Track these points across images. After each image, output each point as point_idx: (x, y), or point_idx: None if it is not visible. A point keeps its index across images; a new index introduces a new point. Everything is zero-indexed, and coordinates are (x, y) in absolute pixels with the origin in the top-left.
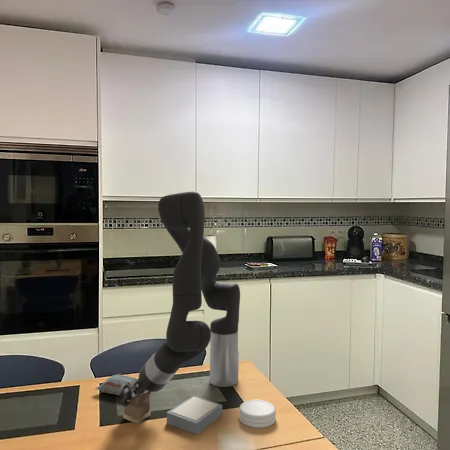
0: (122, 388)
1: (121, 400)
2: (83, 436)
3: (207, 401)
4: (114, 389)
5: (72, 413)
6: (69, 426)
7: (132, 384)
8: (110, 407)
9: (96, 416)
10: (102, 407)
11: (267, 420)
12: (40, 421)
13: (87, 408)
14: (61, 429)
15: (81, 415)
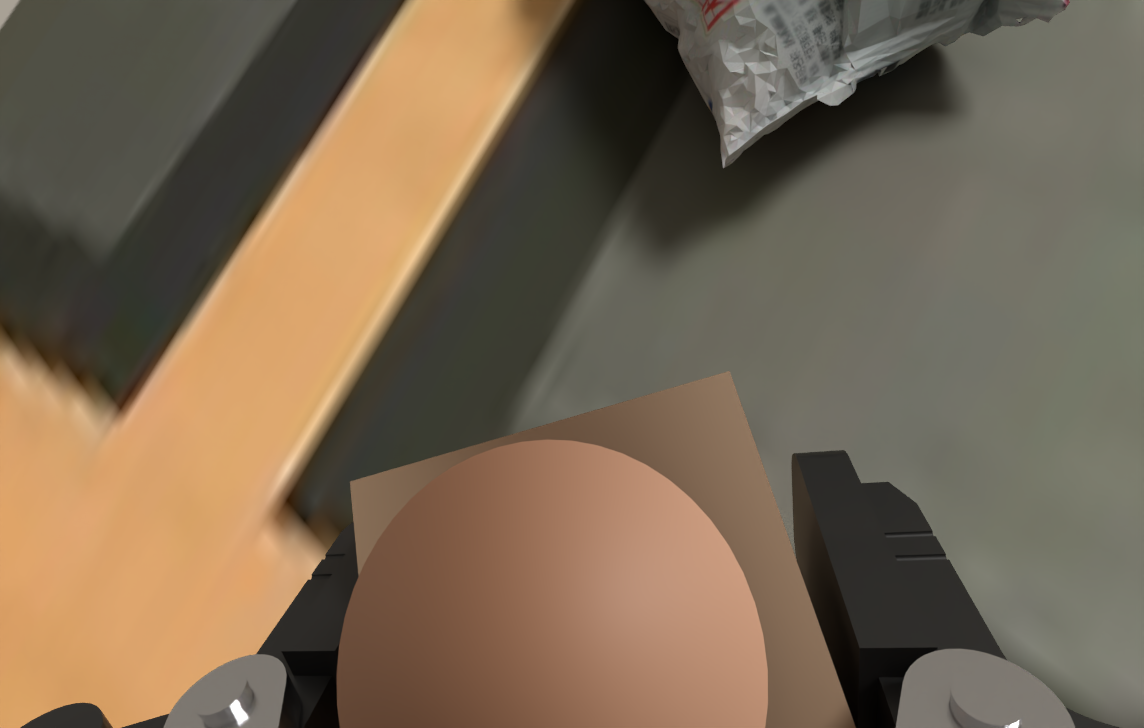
0: (725, 46)
1: (336, 554)
2: (82, 588)
3: None
4: (666, 3)
5: (262, 166)
6: (128, 347)
7: (430, 563)
8: (538, 236)
9: (354, 322)
10: (483, 197)
11: None
12: (74, 162)
13: (384, 149)
14: (71, 354)
15: (285, 233)
